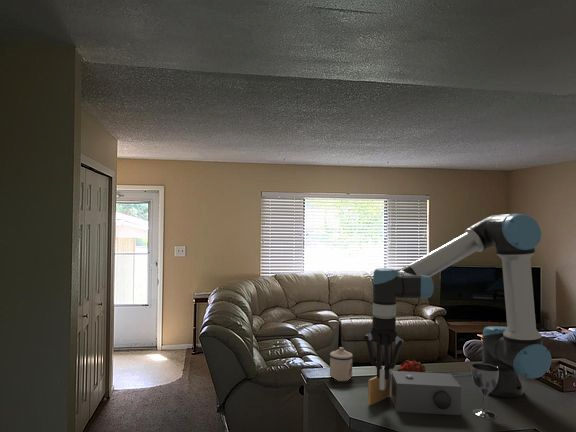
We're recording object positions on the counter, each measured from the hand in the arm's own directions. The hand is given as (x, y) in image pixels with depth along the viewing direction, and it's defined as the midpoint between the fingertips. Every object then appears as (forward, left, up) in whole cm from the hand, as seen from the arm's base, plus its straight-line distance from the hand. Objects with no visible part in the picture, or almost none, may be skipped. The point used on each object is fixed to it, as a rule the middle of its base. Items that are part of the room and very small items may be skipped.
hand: (382, 388), depth 142 cm
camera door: (+1, -6, -6) cm, 8 cm away
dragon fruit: (-14, -27, -7) cm, 31 cm away
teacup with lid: (+13, -28, -7) cm, 32 cm away
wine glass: (-32, 0, -7) cm, 33 cm away
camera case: (-14, -4, -6) cm, 16 cm away
